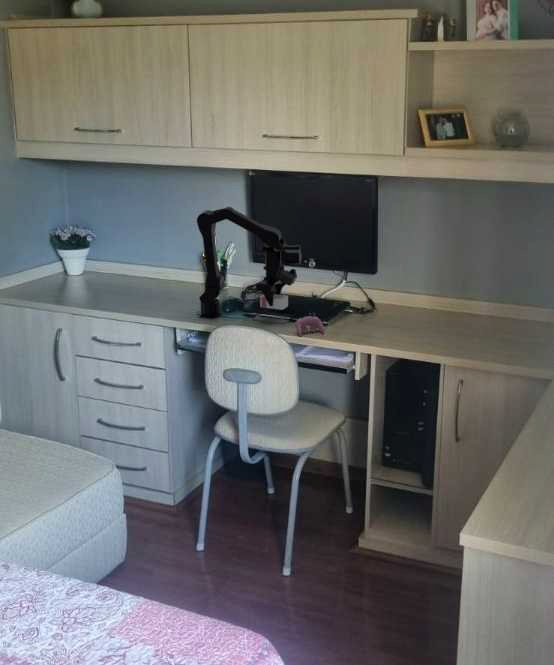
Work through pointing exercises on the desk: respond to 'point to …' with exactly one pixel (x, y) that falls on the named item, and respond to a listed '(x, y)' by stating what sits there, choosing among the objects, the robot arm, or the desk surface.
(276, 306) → the card deck box
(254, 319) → the desk mat
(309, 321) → the video game controller
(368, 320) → the desk surface
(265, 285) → the robot arm
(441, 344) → the desk surface
